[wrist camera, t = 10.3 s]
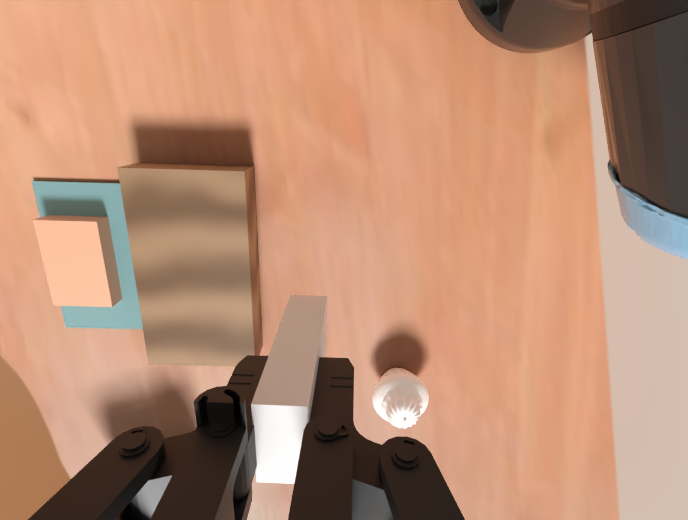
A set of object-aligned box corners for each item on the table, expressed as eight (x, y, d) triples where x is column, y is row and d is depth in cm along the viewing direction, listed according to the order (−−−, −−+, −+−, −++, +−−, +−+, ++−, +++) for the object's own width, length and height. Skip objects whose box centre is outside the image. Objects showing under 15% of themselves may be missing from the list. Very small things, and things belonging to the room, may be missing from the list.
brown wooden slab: (139, 162, 38) (117, 167, 35) (254, 166, 38) (244, 171, 35) (164, 343, 45) (148, 364, 41) (262, 346, 45) (255, 366, 41)
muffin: (418, 402, 48) (430, 447, 41) (367, 398, 48) (371, 443, 41) (426, 357, 46) (440, 398, 39) (373, 354, 46) (378, 393, 39)
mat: (34, 180, 39) (31, 181, 39) (147, 183, 39) (146, 184, 39) (67, 326, 44) (65, 327, 44) (167, 328, 44) (166, 329, 44)
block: (96, 221, 38) (108, 216, 40) (32, 219, 38) (47, 215, 40) (112, 307, 41) (122, 298, 43) (53, 305, 41) (66, 297, 43)
